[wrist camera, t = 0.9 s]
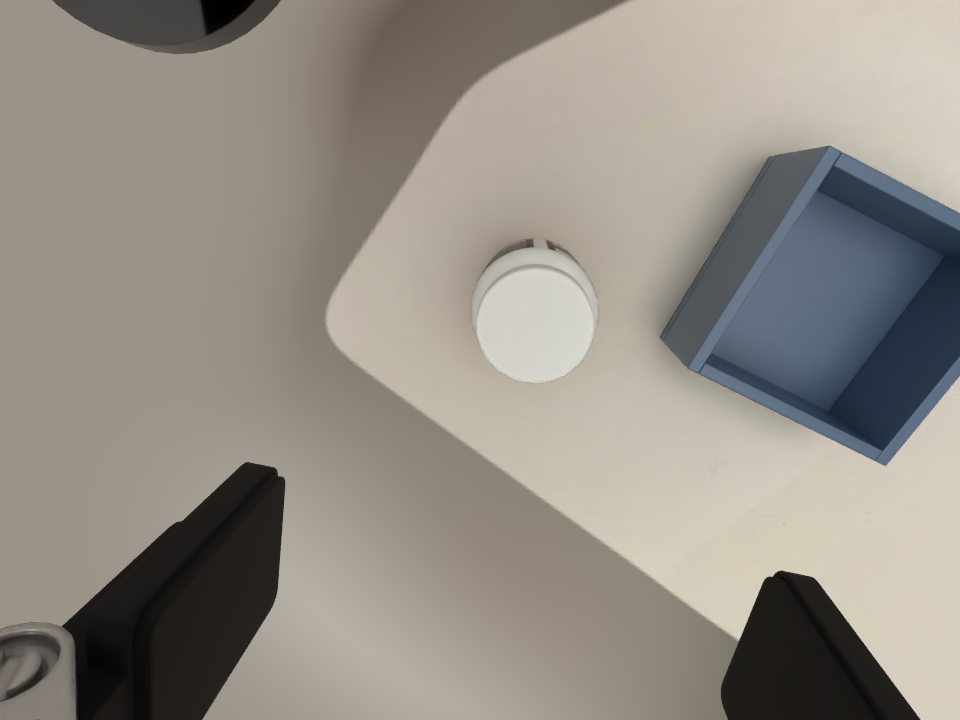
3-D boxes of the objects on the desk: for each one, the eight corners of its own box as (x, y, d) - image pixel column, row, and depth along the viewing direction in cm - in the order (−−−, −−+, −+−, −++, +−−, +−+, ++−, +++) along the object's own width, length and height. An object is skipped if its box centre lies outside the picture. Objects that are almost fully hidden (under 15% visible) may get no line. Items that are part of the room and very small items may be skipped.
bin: (659, 337, 31) (687, 368, 25) (770, 155, 27) (829, 144, 22) (823, 418, 31) (886, 466, 26) (950, 249, 28) (1054, 261, 22)
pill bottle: (486, 339, 32) (466, 399, 22) (480, 239, 30) (455, 258, 21) (585, 335, 31) (607, 395, 22) (584, 233, 29) (608, 250, 20)
